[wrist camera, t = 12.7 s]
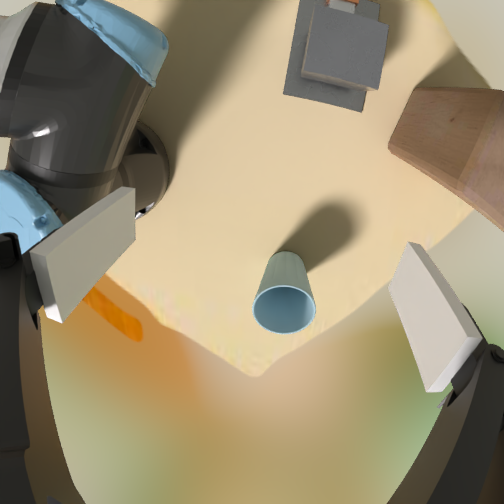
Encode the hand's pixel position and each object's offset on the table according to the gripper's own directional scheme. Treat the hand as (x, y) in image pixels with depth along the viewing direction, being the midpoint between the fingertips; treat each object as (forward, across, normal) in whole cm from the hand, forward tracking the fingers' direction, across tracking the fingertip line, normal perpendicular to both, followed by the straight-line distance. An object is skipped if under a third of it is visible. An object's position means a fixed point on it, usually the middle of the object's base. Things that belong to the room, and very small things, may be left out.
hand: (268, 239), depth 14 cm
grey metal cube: (+23, +4, +13) cm, 27 cm away
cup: (+27, +4, -17) cm, 32 cm away
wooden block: (+27, +19, +7) cm, 34 cm away
